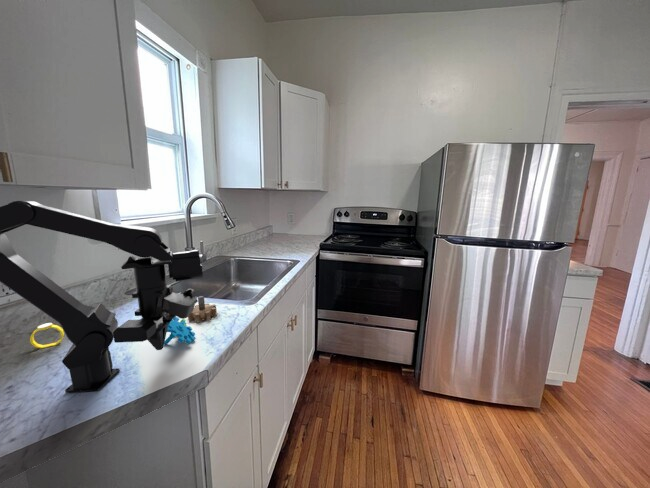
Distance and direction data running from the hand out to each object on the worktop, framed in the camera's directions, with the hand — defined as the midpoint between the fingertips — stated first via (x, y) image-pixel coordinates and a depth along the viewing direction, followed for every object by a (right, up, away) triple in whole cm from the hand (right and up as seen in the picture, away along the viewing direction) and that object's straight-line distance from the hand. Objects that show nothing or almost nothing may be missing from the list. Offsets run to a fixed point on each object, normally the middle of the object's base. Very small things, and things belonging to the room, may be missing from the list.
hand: (160, 349), depth 61 cm
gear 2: (-2, +1, +25) cm, 25 cm away
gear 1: (-1, -2, +10) cm, 10 cm away
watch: (-34, -3, +8) cm, 35 cm away
